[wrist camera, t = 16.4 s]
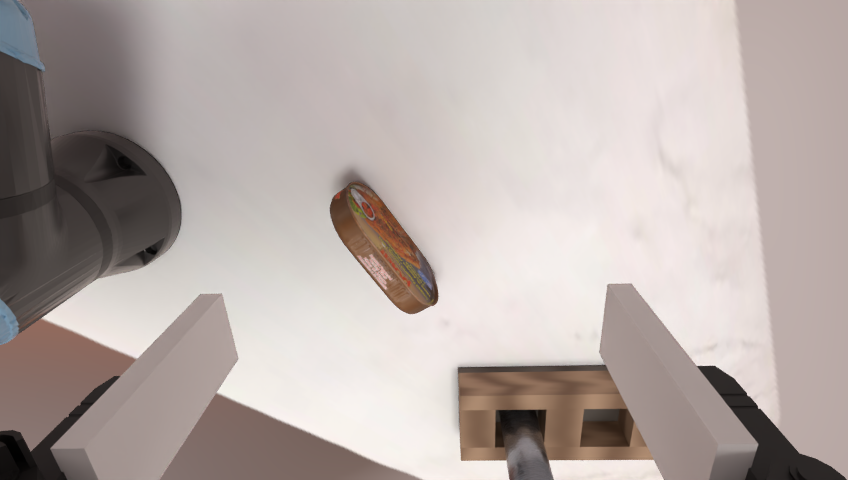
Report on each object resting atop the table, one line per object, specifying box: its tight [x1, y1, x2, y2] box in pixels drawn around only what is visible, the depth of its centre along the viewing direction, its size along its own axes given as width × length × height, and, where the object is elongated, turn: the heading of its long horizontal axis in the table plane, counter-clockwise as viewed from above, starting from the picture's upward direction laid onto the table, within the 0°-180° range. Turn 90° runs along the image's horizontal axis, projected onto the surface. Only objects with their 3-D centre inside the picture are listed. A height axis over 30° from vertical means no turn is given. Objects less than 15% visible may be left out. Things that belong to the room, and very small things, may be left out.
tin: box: [330, 182, 438, 314], centre depth 46 cm, size 15×3×8 cm, turn 35°
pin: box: [499, 410, 554, 480], centre depth 50 cm, size 4×4×16 cm
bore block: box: [458, 365, 654, 461], centre depth 56 cm, size 24×10×5 cm, turn 93°
